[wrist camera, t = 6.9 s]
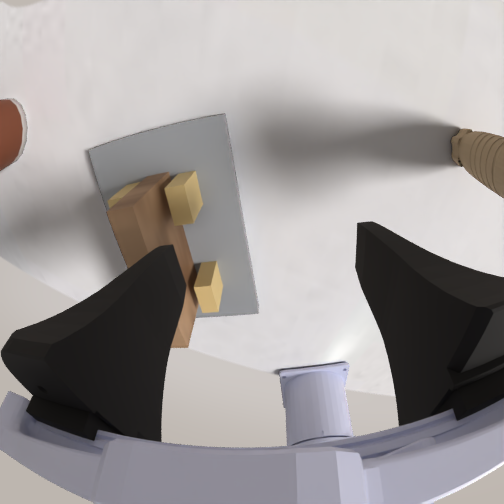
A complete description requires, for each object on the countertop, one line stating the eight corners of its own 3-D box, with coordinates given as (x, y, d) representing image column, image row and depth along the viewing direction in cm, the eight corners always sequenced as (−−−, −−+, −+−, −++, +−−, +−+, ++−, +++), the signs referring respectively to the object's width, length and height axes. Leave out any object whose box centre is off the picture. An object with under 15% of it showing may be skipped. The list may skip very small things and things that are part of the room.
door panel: (202, 291, 23) (187, 347, 18) (184, 292, 23) (166, 347, 18) (168, 171, 18) (132, 206, 12) (147, 176, 18) (106, 211, 13)
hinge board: (258, 305, 25) (258, 339, 21) (155, 312, 26) (142, 342, 22) (225, 113, 16) (215, 118, 13) (95, 147, 17) (64, 161, 14)
